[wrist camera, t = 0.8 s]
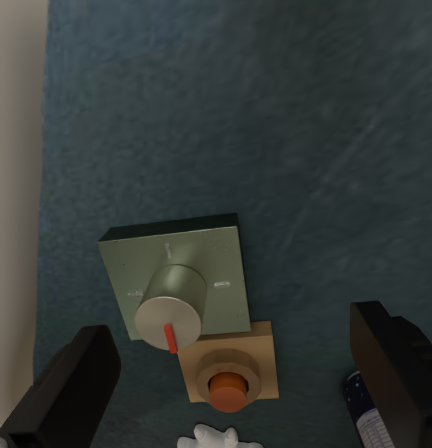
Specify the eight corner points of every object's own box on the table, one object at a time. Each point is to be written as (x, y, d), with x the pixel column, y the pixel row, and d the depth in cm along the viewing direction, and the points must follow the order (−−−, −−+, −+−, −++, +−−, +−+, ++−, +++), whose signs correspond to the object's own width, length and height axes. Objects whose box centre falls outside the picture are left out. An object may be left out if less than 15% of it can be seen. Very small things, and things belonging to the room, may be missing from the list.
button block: (178, 327, 32) (170, 357, 29) (270, 320, 31) (275, 350, 27) (192, 385, 36) (188, 418, 32) (276, 380, 35) (281, 414, 31)
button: (208, 372, 30) (206, 388, 28) (243, 370, 29) (244, 386, 28) (213, 396, 31) (212, 413, 29) (247, 395, 30) (248, 411, 29)
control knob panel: (110, 227, 28) (96, 243, 25) (236, 212, 27) (237, 226, 24) (139, 319, 32) (130, 341, 29) (249, 310, 31) (251, 332, 28)
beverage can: (334, 395, 35) (379, 533, 24) (348, 361, 33) (405, 495, 22) (381, 402, 35) (449, 542, 24) (399, 367, 33) (482, 505, 22)
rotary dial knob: (143, 267, 26) (124, 302, 21) (201, 261, 25) (194, 296, 21) (156, 314, 28) (142, 355, 23) (211, 310, 27) (206, 351, 23)
